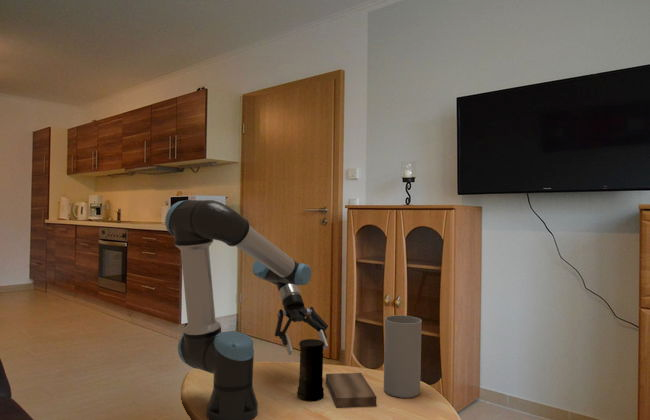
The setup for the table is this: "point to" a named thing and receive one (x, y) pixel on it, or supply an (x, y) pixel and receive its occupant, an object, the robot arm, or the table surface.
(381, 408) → the table surface
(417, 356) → the cylinder vase
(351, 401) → the shelf board
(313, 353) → the container
